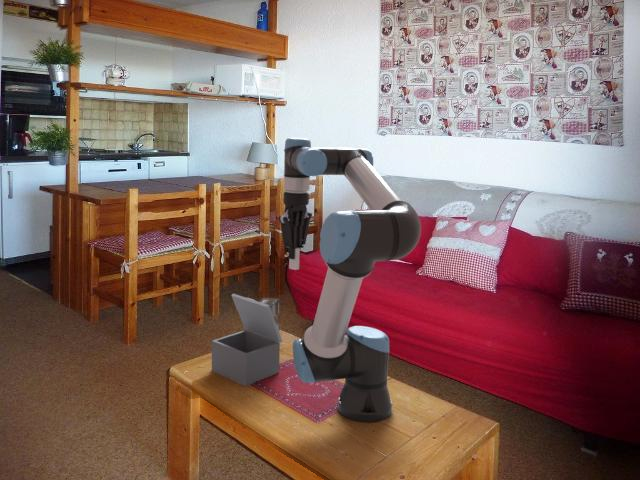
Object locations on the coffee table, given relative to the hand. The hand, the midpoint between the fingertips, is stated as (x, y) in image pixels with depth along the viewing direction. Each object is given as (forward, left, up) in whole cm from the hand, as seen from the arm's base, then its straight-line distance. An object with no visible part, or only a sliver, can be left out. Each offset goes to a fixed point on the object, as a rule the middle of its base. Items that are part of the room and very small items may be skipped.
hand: (294, 268), depth 185 cm
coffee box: (+24, -13, -35) cm, 44 cm away
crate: (+12, +8, -35) cm, 38 cm away
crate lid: (+12, +4, -18) cm, 22 cm away
